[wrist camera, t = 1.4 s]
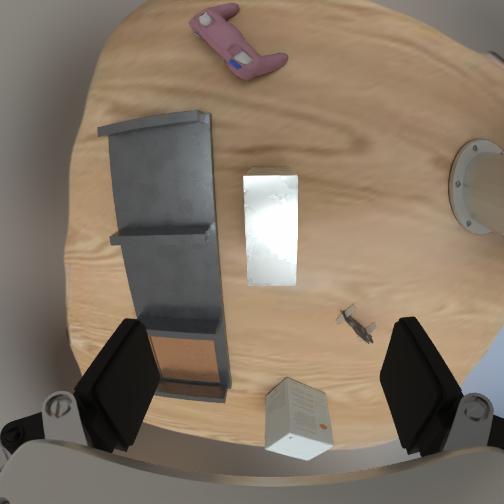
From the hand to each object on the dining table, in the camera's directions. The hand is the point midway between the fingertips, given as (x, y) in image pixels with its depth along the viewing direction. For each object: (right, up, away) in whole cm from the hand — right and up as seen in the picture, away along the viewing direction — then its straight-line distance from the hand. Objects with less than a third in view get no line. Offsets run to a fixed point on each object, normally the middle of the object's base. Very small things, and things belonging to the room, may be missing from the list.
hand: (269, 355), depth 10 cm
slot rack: (-10, +1, +24) cm, 26 cm away
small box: (+6, -19, +31) cm, 37 cm away
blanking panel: (+1, +8, +21) cm, 22 cm away
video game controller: (-2, +25, +15) cm, 29 cm away
